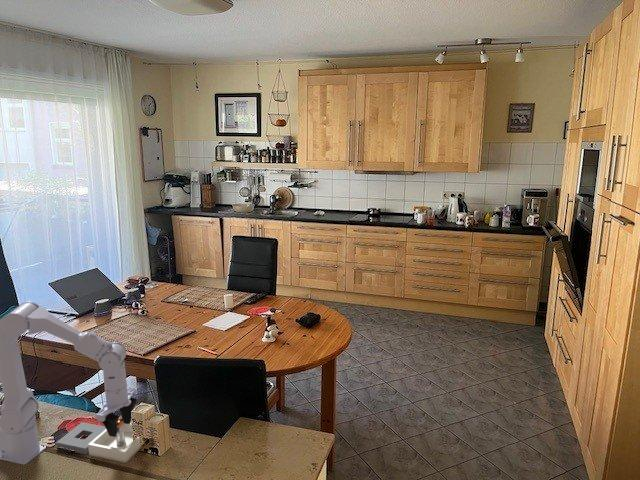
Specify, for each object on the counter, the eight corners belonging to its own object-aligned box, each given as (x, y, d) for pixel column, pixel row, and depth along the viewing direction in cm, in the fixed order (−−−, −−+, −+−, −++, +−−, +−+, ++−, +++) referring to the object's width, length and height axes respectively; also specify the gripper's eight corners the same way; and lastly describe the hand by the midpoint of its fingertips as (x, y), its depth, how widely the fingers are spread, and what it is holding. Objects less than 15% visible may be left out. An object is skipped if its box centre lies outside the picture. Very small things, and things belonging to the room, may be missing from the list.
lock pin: (114, 445, 134) (112, 423, 133) (120, 440, 137) (118, 418, 135) (122, 447, 134) (119, 424, 132) (127, 441, 136) (125, 419, 134)
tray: (89, 455, 131) (87, 444, 130) (117, 429, 143) (116, 419, 142) (125, 463, 128) (124, 452, 128) (151, 436, 140) (151, 426, 139)
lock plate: (56, 448, 134) (56, 442, 134) (82, 427, 143) (81, 422, 143) (86, 454, 132) (85, 448, 131) (110, 433, 141) (109, 427, 140)
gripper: (110, 402, 123) (114, 447, 126) (143, 375, 137) (147, 417, 140) (88, 398, 125) (93, 443, 128) (123, 372, 139) (127, 413, 142)
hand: (119, 429), depth 134 cm, fingers open, 5 cm apart
